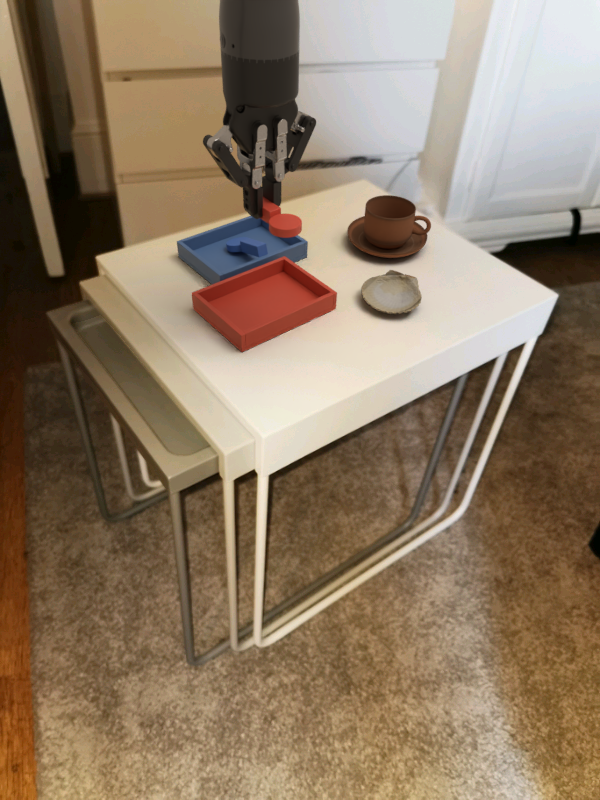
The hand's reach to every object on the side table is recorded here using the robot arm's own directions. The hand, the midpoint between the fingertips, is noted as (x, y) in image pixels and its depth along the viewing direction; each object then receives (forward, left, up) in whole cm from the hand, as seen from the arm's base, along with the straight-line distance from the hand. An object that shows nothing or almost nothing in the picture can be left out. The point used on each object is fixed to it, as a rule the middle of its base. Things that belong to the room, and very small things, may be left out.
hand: (263, 212), depth 72 cm
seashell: (+13, -11, -15) cm, 23 cm away
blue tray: (+10, +12, -15) cm, 21 cm away
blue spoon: (+10, +10, -13) cm, 20 cm away
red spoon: (-1, -2, 0) cm, 2 cm away
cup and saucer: (+26, -3, -15) cm, 30 cm away
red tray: (+2, +1, -15) cm, 15 cm away
